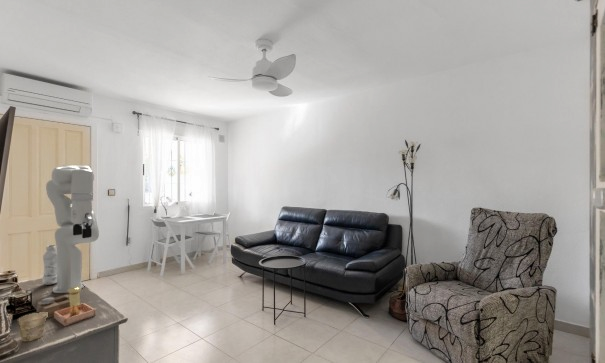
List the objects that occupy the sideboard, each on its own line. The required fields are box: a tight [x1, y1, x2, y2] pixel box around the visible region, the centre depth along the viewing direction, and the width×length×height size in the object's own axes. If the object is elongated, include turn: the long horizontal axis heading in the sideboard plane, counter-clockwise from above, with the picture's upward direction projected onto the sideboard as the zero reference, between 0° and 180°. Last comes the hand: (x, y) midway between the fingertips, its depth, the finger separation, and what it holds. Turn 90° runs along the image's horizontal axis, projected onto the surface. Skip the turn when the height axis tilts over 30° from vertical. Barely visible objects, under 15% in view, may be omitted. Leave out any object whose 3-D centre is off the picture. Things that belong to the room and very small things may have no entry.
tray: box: [53, 302, 96, 327], centre depth 113 cm, size 11×10×2 cm
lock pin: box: [67, 286, 82, 317], centre depth 113 cm, size 4×4×11 cm
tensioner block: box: [36, 293, 70, 319], centre depth 118 cm, size 10×10×6 cm
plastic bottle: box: [42, 244, 57, 286], centre depth 147 cm, size 6×7×20 cm
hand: (82, 236), depth 124 cm, fingers open, 9 cm apart
